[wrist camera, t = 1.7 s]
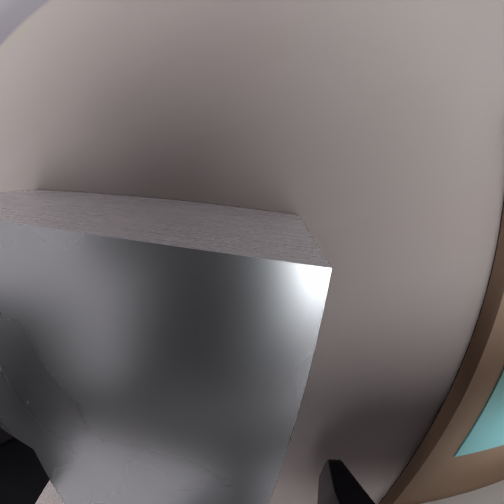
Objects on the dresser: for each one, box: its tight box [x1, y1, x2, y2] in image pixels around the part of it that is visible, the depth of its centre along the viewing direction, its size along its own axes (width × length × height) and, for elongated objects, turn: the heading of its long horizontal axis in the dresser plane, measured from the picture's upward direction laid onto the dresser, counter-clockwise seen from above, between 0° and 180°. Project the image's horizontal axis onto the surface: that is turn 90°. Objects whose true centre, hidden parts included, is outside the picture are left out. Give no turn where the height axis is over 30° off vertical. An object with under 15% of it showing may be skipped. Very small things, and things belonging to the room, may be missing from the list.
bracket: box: [0, 190, 332, 504], centre depth 6 cm, size 10×8×5 cm
